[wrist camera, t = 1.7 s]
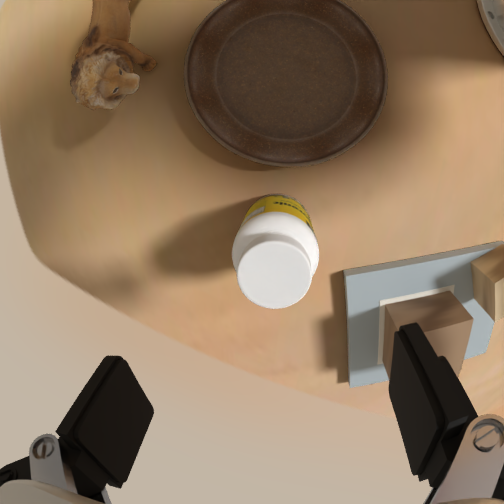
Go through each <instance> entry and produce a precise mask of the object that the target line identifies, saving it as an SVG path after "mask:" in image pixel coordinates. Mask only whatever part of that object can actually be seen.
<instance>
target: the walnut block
mask: <svg viewBox="0 0 504 504" xmlns="http://www.w3.org/2000/svg"><path fill="white" fill-rule="evenodd" d="M473 320H474V319H473V317H472V316H471V315H470V314H469V312H468V311H467V310H466V309H465V308H464V306H463V305H462V304H461V303H460V302H459V300H458V299H457V298H456V297H455V296H454V295H453V293H452V292H451V291H446V292H441V293H437V294H433V295H428V296H424V297H419V298H414V299H410V300H405V301H400V302H395V303H390V304H385V322H384V343H383V358H382V361H383V364H384V367H385V370H386V372H387V375H388V378H389V381H390V373H391V364H392V354H393V343H394V333H395V331H399V328H400V326H402V325H406V324H410V323H415V322H417V323H418V324H419V326H420V327H421V329H422V331H423V332H424V334H425V336H426V337H427V339H428V341H429V342H430V344H431V346H432V347H433V349H434V351H435V353H436V354H437V356H438V357H439V356H444V357H446V359H447V360H448V362H449V363H450V365H451V367H452V369H453V370H454V372H455V374H456V376H457V377H459V374H460V370H461V367H462V364H463V360H464V357H465V353H466V349H467V345H468V342H469V337H470V333H471V329H472V325H473Z"/></svg>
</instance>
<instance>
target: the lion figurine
mask: <svg viewBox="0 0 504 504" xmlns="http://www.w3.org/2000/svg"><path fill="white" fill-rule="evenodd" d="M130 1H131V0H93V10H92V17H91V23H90V28H89V34H88V37H86V38H85V40H84V41H83V43H82V46H81V47H80V48H79V52H78V53H77V54H76V60H75V61H74V62H73V64H72V68H73V69H72V72H71V80H70V85H71V87H72V93H73V95H75V97H76V102H77V103H81V104H83V105H84V106H86V107H88V108H90V109H91V110H94V109H96V108H102V109H114V108H115V107H117V106H118V105H119V104H120V102H121V101H122V100H123V99H124V97H125V96H126V94H133V93H134V92H135V91H136V90H138V88H139V80H140V77H139V76H138V75H137V74H135V73H134V71H133V67H134V63H138V64H139V65H141V66H142V68H143V70H145V71H151V70H152V69H153V68H154V67H155V65H156V64H157V63H156V61H155V60H154V59H153V58H152V57H150V56H149V55H145V54H143V53H141V52H140V51H139V50H138V49H136V48H135V47H134V46H133V45H132V44H131V43H128V40H129V35H130V11H129V8H128V4H129V2H130Z"/></svg>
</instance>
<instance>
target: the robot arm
mask: <svg viewBox="0 0 504 504" xmlns="http://www.w3.org/2000/svg"><path fill="white" fill-rule="evenodd" d="M477 3H478V8H479V11H480V14H481V17H482V20H483V22H484V24H485V27H486V29H487V31H488V33H489V34H490V36H491V38H492V40H493V41H494V43H495V45H496V46H497V48H498V49H499V51H500V52H501V53H502V55H503V56H504V0H477ZM389 396H390V399H391V402H392V405H393V409H394V412H395V415H396V418H397V422H398V425H399V428H400V431H401V435H402V439H403V442H404V446H405V449H406V453H407V457H408V460H409V464H410V468H411V472H412V474H413V475H418V478H419V481H423V480H426V479H428V480H429V484H430V486H431V487H433V488H432V490H431V491H430V493H429V495H428V497H427V498H426V500H425V502H424V503H423V504H504V419H503V418H502V417H500V416H497V415H495V414H486V415H481V416H479V417H478V415H477V413H476V411H475V409H474V407H473V405H472V403H471V401H470V399H469V398H468V396H467V394H466V392H465V390H464V388H463V386H462V385H461V383H460V381H459V379H458V377H457V376H456V374H455V372H454V370H453V369H452V367H451V365H450V363H449V362H448V360H447V359H446V357H444V356H439V357H438V356H437V354H436V353H435V351H434V349H433V347H432V346H431V344H430V342H429V341H428V339H427V337H426V336H425V334H424V332H423V331H422V329H421V327H420V326H419V324H418V323H417V322H415V323H410V324H406V325H402V326H400V328H399V331H395V333H394V343H393V354H392V364H391V373H390V382H389ZM153 414H154V409H153V407H152V405H151V403H150V401H149V400H148V398H147V397H146V395H145V393H144V391H143V390H142V388H141V386H140V385H139V383H138V381H137V380H136V378H135V376H134V374H133V372H132V370H131V369H130V367H129V365H128V363H127V361H126V360H124V359H123V358H122V357H121V356H106V357H105V358H104V359H103V360H102V362H101V363H100V365H99V366H98V368H97V369H96V371H95V372H94V373H93V375H92V377H91V378H90V379H89V381H88V383H87V384H86V385H85V387H84V388H83V390H82V392H81V393H80V394H79V396H78V397H77V399H76V400H75V402H74V404H73V405H72V406H71V408H70V410H69V411H68V413H67V414H66V416H65V417H64V419H63V421H62V422H61V424H60V425H59V427H58V428H57V430H56V433H57V434H58V435H59V436H60V437H59V439H57V438H56V437H55V436H54V435H52V434H44V435H41V436H39V437H38V438H36V439H35V440H34V442H33V443H32V444H31V447H30V451H29V456H28V457H25V458H23V459H21V460H18V461H15V462H13V463H10V464H8V465H6V466H4V467H3V468H1V469H0V504H111V501H110V499H109V496H108V493H107V491H106V488H105V486H106V483H108V484H109V485H110V486H113V487H117V488H121V487H122V485H123V483H124V482H126V481H127V479H128V476H129V474H130V471H131V469H132V466H133V464H134V461H135V459H136V456H137V454H138V451H139V449H140V446H141V444H142V441H143V439H144V436H145V434H146V432H147V429H148V427H149V424H150V422H151V420H152V417H153Z"/></svg>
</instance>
